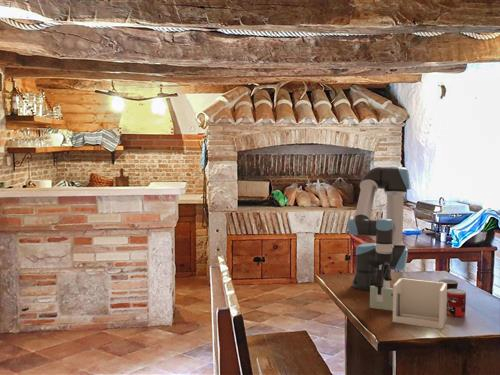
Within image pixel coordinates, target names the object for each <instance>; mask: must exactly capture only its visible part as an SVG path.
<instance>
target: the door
mask: <svg viewBox="0 0 500 375" xmlns="http://www.w3.org/2000/svg"><path fill="white" fill-rule="evenodd" d="M369 308H371V309H378V310H385V311H392V312H393V287H390V288H387V287H384V286H383V302H379V301H377V287H375V286H370V290H369Z"/></svg>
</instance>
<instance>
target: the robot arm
mask: <svg viewBox="0 0 500 375" xmlns="http://www.w3.org/2000/svg"><path fill="white" fill-rule="evenodd" d="M410 185H411V182H410V174H409V170H408V168H407V167H403V166H402V167H401V166H390V167H389V166H385V167H384V166H377V167H373V168H372V169H370V170H368V171H367V172H366V173H365V174H364V175H363V177H362V178H361V180H360V183H359V189H360V190H359V191H360V192H359V195H358V200H357V205H356V210H355V214H354V218H350V219H349V220H348V222H347V231H348V234H349V235H353V236H372V237H375V243H374V242H370V243H362V244H361V243H360V244H358V245H357V246H356V248H355V273H354V276H353V279H352V281H351V282H352V284H351V286H352V287H353V288H354V289H357V290H361V291H370V286H375V287H377V301H379V302H383V287H387V288H391V283H390V282H392V280H393V279H392V274H391V270H393V271H402V270H403V271H404V269H405V268H406V266H407V260H408V255H409V254H408V253H409V249H408V248H407V247H406V244H405V243H404V242H403V236H404V235H403V230H404V202H405V200H404V198H405V196H406V195H407V194H408V190H410V189H411V186H410ZM378 189H380V190H381V189H383V192H384V194H385V195H386V212H385V213H386V216H385V217H386V218H377V219H376V220H374V219H371V217H372V211H373V206H374V201H375V196H376V193H377V191H378Z"/></svg>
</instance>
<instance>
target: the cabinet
mask: <svg viewBox="0 0 500 375" xmlns="http://www.w3.org/2000/svg"><path fill="white" fill-rule="evenodd" d="M392 286H393V287H392V288H393V311H392V323H399V324H405V325H410V326H412V325H413V326H418V327H426V328H431V329H439V330H443V328H444V326H445V323H446V321H447V313H446V309H447V283H442V282H439V281H431V280H421V279H412V278H405V277H404V278H403V277H399V279H397V281H396V282H395V283H393V285H392Z"/></svg>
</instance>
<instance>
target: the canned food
mask: <svg viewBox="0 0 500 375" xmlns="http://www.w3.org/2000/svg"><path fill="white" fill-rule="evenodd" d="M466 302H467V292H466V290H464V289H459V288H457V289H448V290H447V309H446V316H448V317H450V318H458V319H459V318H461V319H462V318H464V317H465V316H466V306H467V305H466Z"/></svg>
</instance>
